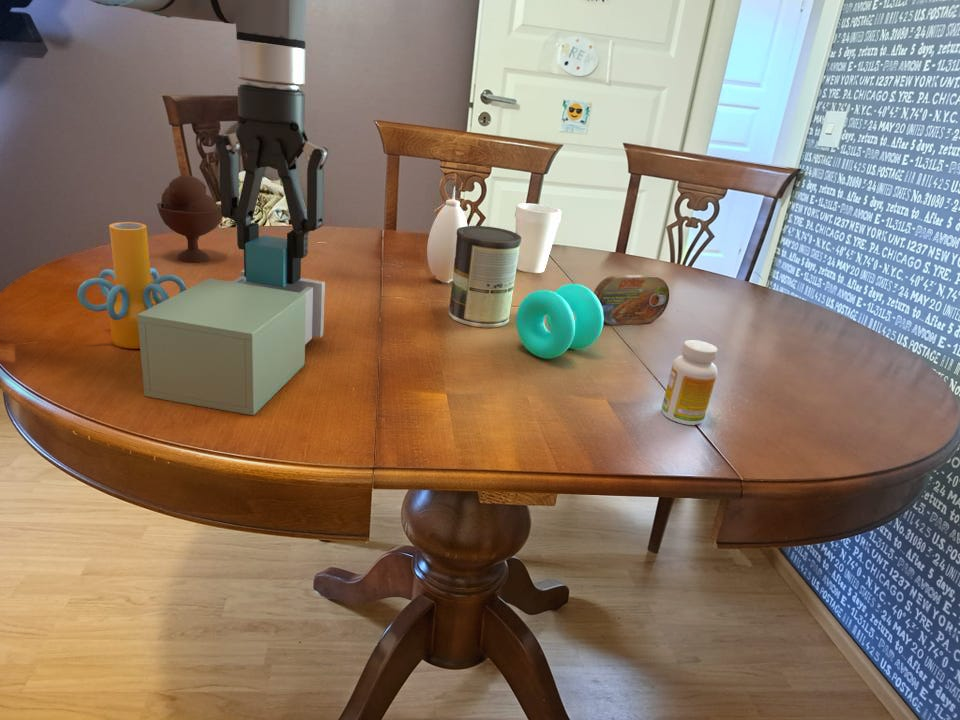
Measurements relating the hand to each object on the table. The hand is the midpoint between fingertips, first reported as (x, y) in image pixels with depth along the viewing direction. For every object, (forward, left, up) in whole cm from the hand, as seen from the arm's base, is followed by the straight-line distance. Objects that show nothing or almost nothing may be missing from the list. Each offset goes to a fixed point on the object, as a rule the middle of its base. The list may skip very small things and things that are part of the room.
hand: (272, 277), depth 86 cm
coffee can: (+25, +24, -10) cm, 36 cm away
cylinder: (-16, -6, -10) cm, 19 cm away
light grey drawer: (0, 0, -9) cm, 9 cm away
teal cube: (0, 0, 0) cm, 0 cm away
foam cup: (+31, +60, -10) cm, 68 cm away
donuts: (+38, +14, -10) cm, 42 cm away
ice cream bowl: (-29, +31, -10) cm, 44 cm away
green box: (0, -12, -9) cm, 15 cm away
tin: (+50, +34, -10) cm, 61 cm away
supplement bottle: (+55, -1, -10) cm, 56 cm away
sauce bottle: (+16, +41, -10) cm, 45 cm away
